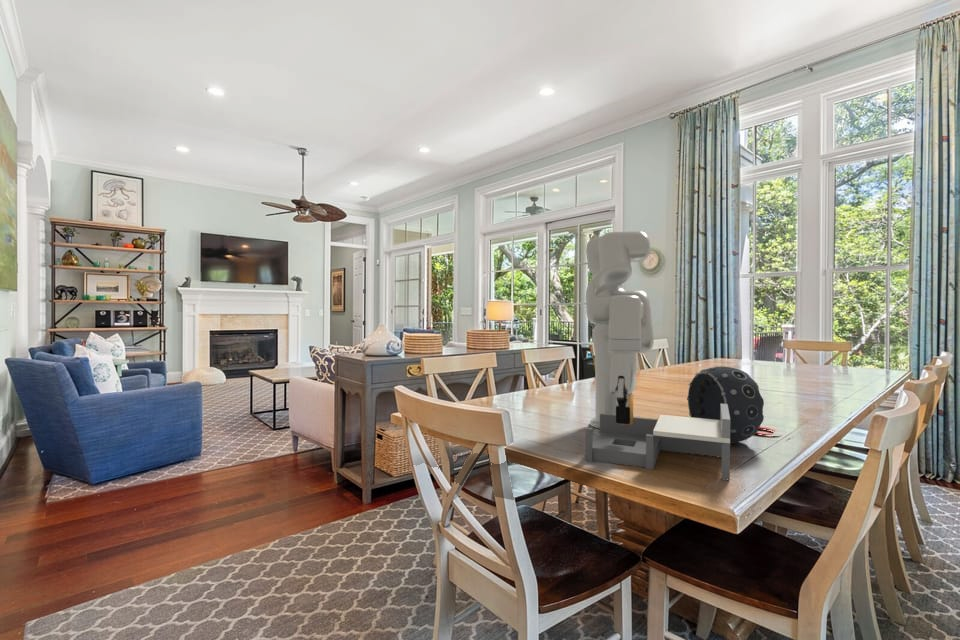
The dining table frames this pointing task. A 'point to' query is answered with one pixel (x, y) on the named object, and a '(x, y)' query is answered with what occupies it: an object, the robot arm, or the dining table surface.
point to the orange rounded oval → (630, 408)
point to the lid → (695, 427)
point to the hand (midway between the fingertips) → (624, 420)
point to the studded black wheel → (727, 399)
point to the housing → (644, 444)
